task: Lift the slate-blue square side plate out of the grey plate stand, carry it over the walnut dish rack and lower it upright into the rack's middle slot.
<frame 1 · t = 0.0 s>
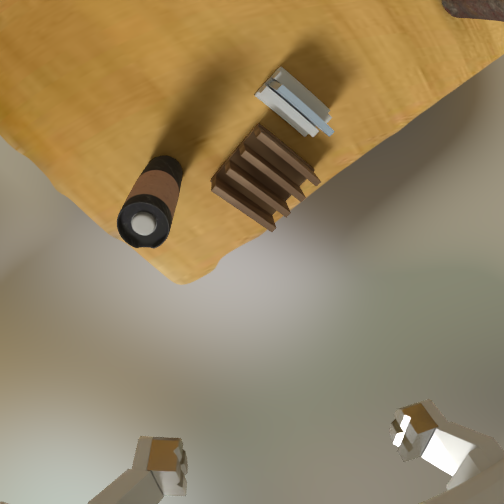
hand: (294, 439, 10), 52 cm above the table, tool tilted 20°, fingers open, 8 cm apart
dish rack: (262, 173, 59), on the table
dark brown tall block: (449, 2, 38), on the table
plate stand: (292, 101, 51), on the table
travel mug: (164, 172, 57), on the table
side plate: (293, 102, 50), point 1 cm above the table, touching plate stand
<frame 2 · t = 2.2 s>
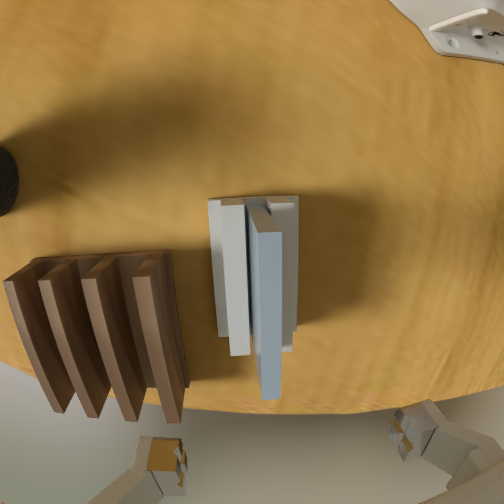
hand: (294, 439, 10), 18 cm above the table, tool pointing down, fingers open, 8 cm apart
dish rack: (109, 324, 27), on the table
plate stand: (254, 267, 27), on the table
side plate: (256, 272, 26), point 1 cm above the table, touching plate stand
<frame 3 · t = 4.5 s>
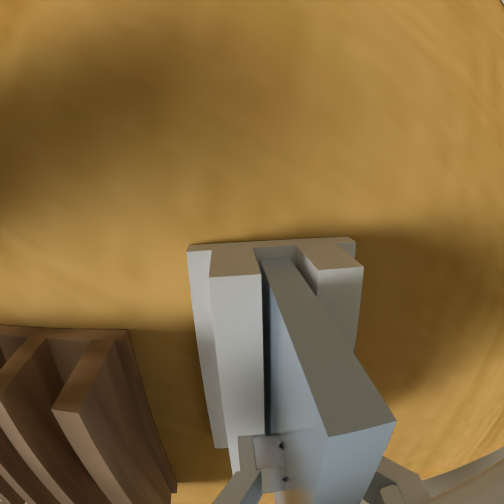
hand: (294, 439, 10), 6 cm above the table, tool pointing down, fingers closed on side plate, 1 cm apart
dish rack: (58, 416, 16), on the table
plate stand: (272, 356, 15), on the table
side plate: (275, 368, 14), point 1 cm above the table, touching gripper, plate stand
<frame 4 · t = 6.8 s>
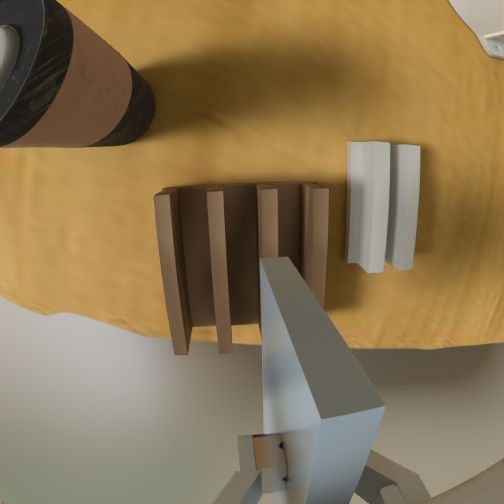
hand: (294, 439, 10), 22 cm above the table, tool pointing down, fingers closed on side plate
dish rack: (241, 256, 31), on the table
plate stand: (377, 202, 30), on the table
travel mug: (120, 110, 26), on the table
side plate: (274, 365, 15), point 17 cm above the table, touching gripper
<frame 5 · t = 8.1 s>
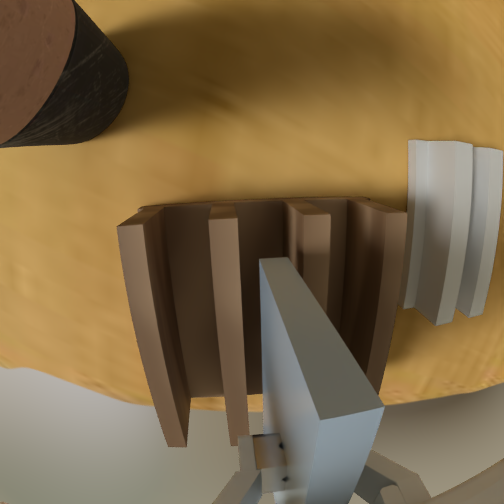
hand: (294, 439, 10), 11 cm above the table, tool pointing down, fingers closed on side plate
dish rack: (259, 305, 21), on the table
plate stand: (442, 224, 20), on the table
travel mug: (80, 91, 16), on the table
side plate: (274, 365, 15), point 6 cm above the table, touching gripper
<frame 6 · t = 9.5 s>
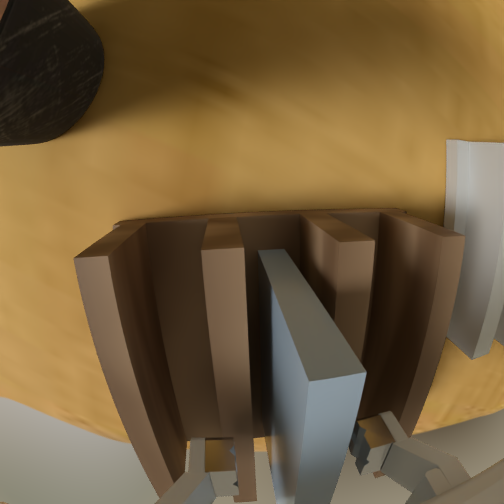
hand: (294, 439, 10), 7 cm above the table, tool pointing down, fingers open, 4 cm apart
dish rack: (268, 341, 17), on the table
plate stand: (479, 239, 16), on the table
travel mug: (47, 79, 12), on the table
side plate: (272, 352, 16), point 1 cm above the table, touching dish rack
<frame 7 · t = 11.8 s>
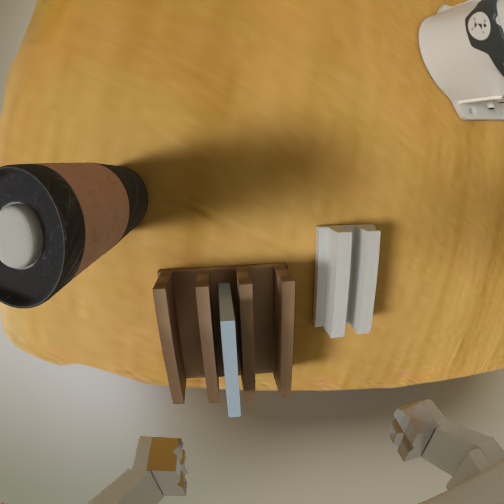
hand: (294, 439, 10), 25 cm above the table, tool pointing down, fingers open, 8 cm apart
dish rack: (225, 323, 36), on the table
plate stand: (342, 275, 36), on the table
travel mug: (117, 199, 31), on the table
side plate: (226, 328, 35), point 1 cm above the table, touching dish rack
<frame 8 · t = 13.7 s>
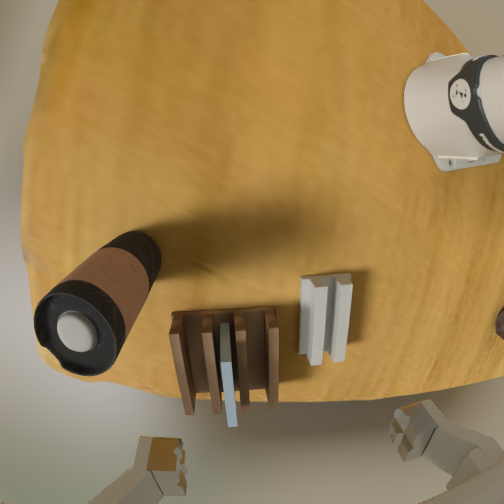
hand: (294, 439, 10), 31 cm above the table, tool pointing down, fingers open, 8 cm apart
dish rack: (226, 351, 44), on the table
dark brown tall block: (501, 317, 50), on the table
plate stand: (322, 313, 44), on the table
travel mug: (135, 257, 39), on the table
side plate: (227, 356, 43), point 1 cm above the table, touching dish rack
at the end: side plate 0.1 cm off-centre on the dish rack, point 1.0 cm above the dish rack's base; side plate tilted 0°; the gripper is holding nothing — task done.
